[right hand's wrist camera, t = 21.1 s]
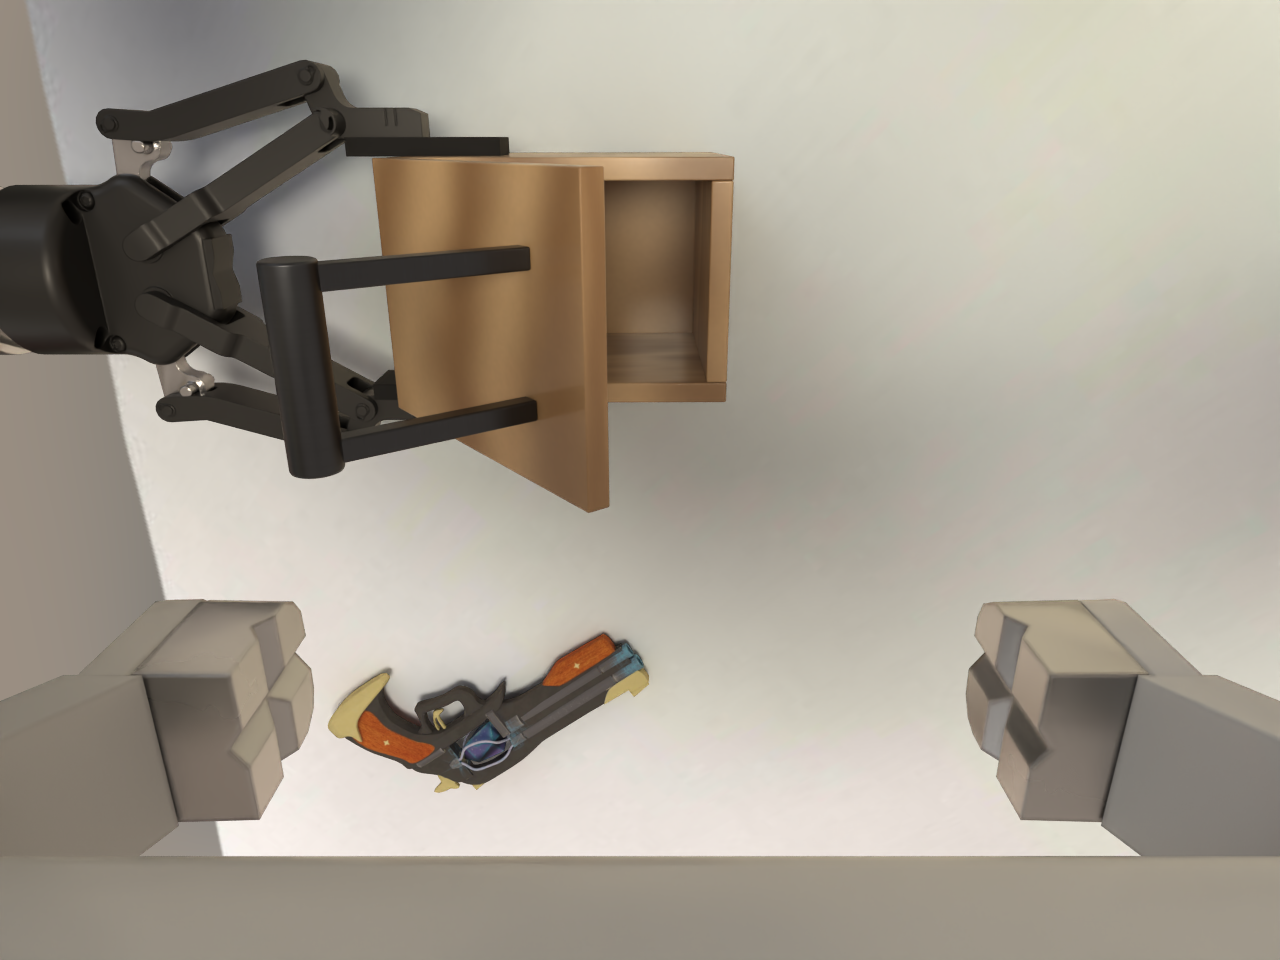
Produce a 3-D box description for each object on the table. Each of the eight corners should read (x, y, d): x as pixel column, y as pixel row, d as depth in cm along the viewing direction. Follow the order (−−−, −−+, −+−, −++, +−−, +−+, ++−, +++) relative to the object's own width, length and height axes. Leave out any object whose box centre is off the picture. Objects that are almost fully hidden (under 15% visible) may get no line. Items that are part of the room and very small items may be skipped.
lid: (604, 165, 23) (281, 173, 19) (610, 507, 27) (340, 588, 22) (391, 157, 34) (149, 161, 29) (416, 404, 37) (204, 444, 33)
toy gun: (312, 725, 54) (410, 842, 56) (561, 563, 52) (655, 691, 53) (327, 704, 57) (421, 816, 59) (565, 548, 54) (654, 671, 56)
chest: (712, 152, 44) (734, 156, 34) (707, 345, 48) (726, 402, 38) (444, 152, 44) (384, 157, 34) (460, 345, 48) (410, 403, 38)
